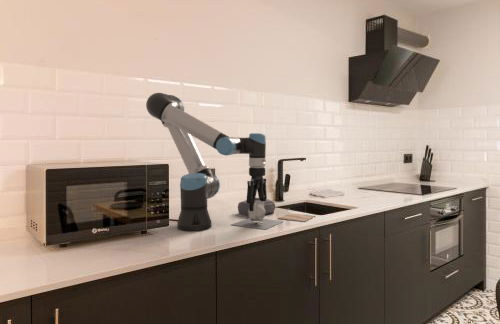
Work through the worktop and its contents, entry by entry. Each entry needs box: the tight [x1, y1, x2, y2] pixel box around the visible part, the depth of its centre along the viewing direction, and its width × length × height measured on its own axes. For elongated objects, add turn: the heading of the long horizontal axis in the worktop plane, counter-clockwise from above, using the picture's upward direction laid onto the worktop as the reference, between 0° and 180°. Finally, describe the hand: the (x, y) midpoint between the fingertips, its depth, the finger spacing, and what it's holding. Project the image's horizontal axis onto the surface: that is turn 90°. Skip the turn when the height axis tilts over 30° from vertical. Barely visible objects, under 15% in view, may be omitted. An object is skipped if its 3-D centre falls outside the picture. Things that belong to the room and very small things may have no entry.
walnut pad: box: [277, 212, 316, 223], centre depth 185 cm, size 14×14×1 cm
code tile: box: [230, 217, 285, 231], centre depth 173 cm, size 18×18×1 cm
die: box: [248, 204, 266, 221], centre depth 173 cm, size 8×9×10 cm
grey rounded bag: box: [237, 197, 276, 217], centre depth 197 cm, size 15×8×20 cm
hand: (256, 216), depth 173 cm, fingers closed on die, 7 cm apart
